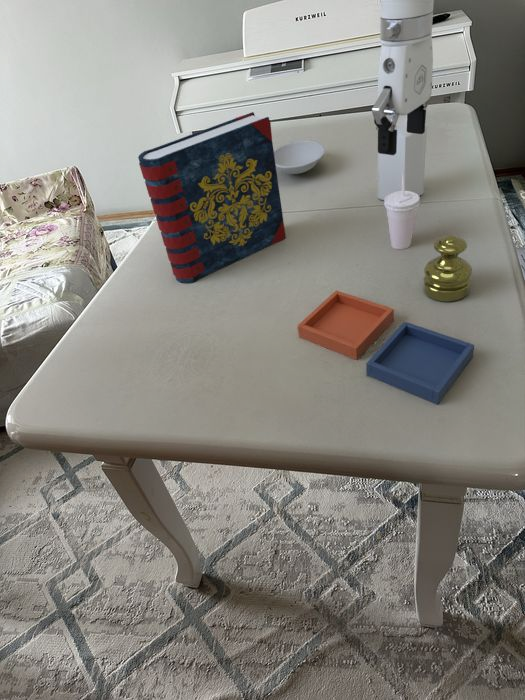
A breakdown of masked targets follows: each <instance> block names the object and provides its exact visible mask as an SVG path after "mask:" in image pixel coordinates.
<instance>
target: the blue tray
mask: <svg viewBox="0 0 525 700" xmlns="http://www.w3.org/2000/svg"><path fill="white" fill-rule="evenodd" d="M474 352H475V344H473V343H470V342H468V341H464V340H461V339H458V338H455V337H452V336H450V335H447V334H446V335H445V334H443V333H440V332H437V331H434V330H431V329H428V328H425V327H422V326H419V325H417V324H414V323H411V322H407V321H403V322H402V324H401V325H400V326H399V327H398V328H397V329H396V330H395V331H394V332H393V333H392V334H391V336H389V338H388V339H387V340H386V341H385V342H384V343H383V344H382V346H381V347H379V349H377V351H376V352H375V353H374V354H373V355H372V356H371V357H370V359H369V360H368V361H367V362H366V364H365V365H366V368H365V369H366V376H367V377H370V378H372V379H375V380H377V381H380V382H382V383H384V384H387V385H390V386H392V387H395V388H397V389H399V390H401V391H404V392H406V393H409V394H411V395H413V396H416V397H418V398H420V399H423V400H425V401H428V402H430V403H433V404H435V405H439V404H440V402H441V401H442V399H443V398H444V397H445V396H446V394H447V393H448V392H449V391H450V389H451V387H452V386H453V385H454V384H455V382H456V381H457V379H459V376H460V375H461V374H462V373H463V371H464V370H465V369H466V367H467V366H468V364H469V363H470V362H471V361H472V360H473V357H474Z"/></svg>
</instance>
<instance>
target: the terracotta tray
mask: <svg viewBox="0 0 525 700" xmlns="http://www.w3.org/2000/svg"><path fill="white" fill-rule="evenodd" d="M394 314H395V309H394V308H392V307H389V306H387V305H383V304H380V303H377V302H374V301H372V300H368V299H365V298H361V297H358V296H356V295H352V294H350V293H346V292H343V291H340V290H338V289H337V290H334V291H333V292H332V293H331V294H330V295H329V296H328V297H327V298H326V299H324V300H323V302H322V303H320V304H319V305H318V306H317V307H316V308H315V309H313V311H311V313H309V314H308V315H307V316H306V317H305V318H304V319H303V320H302V321H300V323H298V324H297V333H298V337H299V338H301V339H303V340H306V341H309V342H311V343H313V344H315V345H319V346H321V347H323V348H325V349H328V350H331V351H333V352H336V353H338V354H341V355H343V356H346V357H348V358H350V359H353V360H356V361H358V359H360V357H361V356H362V355H363V354H365V352H366V351H367V350H368V349H369V348H370V347H371V346H372V344H373V343H374V342H376V340H377V339H379V337H380V336H381V335H382V334H383V333H384V332H385V330H386V329H388V328H389V326H390V325H391V324H392V323H393V322H394V320H395V319H394V318H395V317H394V316H395V315H394Z"/></svg>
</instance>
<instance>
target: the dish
mask: <svg viewBox="0 0 525 700" xmlns="http://www.w3.org/2000/svg"><path fill="white" fill-rule="evenodd" d="M273 150H274V157H275V164H276V169H278V170H279V171H281V172H282V173H285V174H289V175H299V174H303V173H306V172H308V171H310V170H311V169H313V168H314V167H315V166H316V165H317V164H318V163H319V161H320V160H321V159H322V158H323V156H325V153H326V148H325V145H323V143H321V142H319V141H316V140H309V139H300V140H294V141H290V142H289V141H288V142H287V143H283V144H280V145H279V146H277V147H276V148H273Z"/></svg>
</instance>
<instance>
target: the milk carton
mask: <svg viewBox="0 0 525 700" xmlns="http://www.w3.org/2000/svg"><path fill="white" fill-rule="evenodd" d="M391 118H392V116H390V120H389V121H391ZM394 130H397V152H396V154H395V155H387V154H380V153H378V152H377V200H381V201H384V202H385V197H386V196H387V195H389V194H391V193H393V192H397V191H402V174H405V191H411V192H414V193H416V194H418V195H419V197H420V195H421V196H422V195H424V189H425V187H424V186H425V168H426V153H427V135H428V133H427V132H428V124H427V123H426V122H425V132H424V133H423V134H415V133H408V132H407V115H401V114H400V115H399V117H398V120H397V123H396V126H395V129H394Z"/></svg>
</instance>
